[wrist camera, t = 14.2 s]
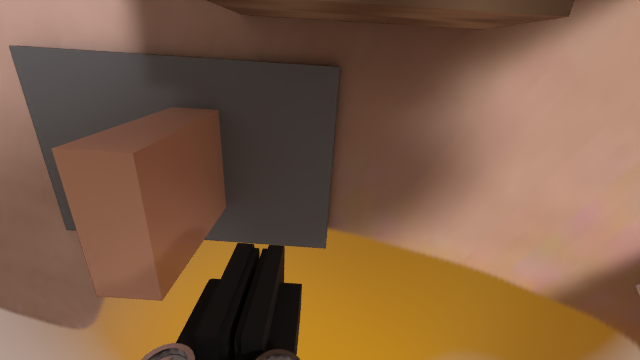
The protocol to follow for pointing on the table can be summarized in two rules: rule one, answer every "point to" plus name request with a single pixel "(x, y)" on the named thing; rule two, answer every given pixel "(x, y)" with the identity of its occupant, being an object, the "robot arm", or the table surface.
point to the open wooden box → (410, 11)
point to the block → (144, 198)
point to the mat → (235, 127)
